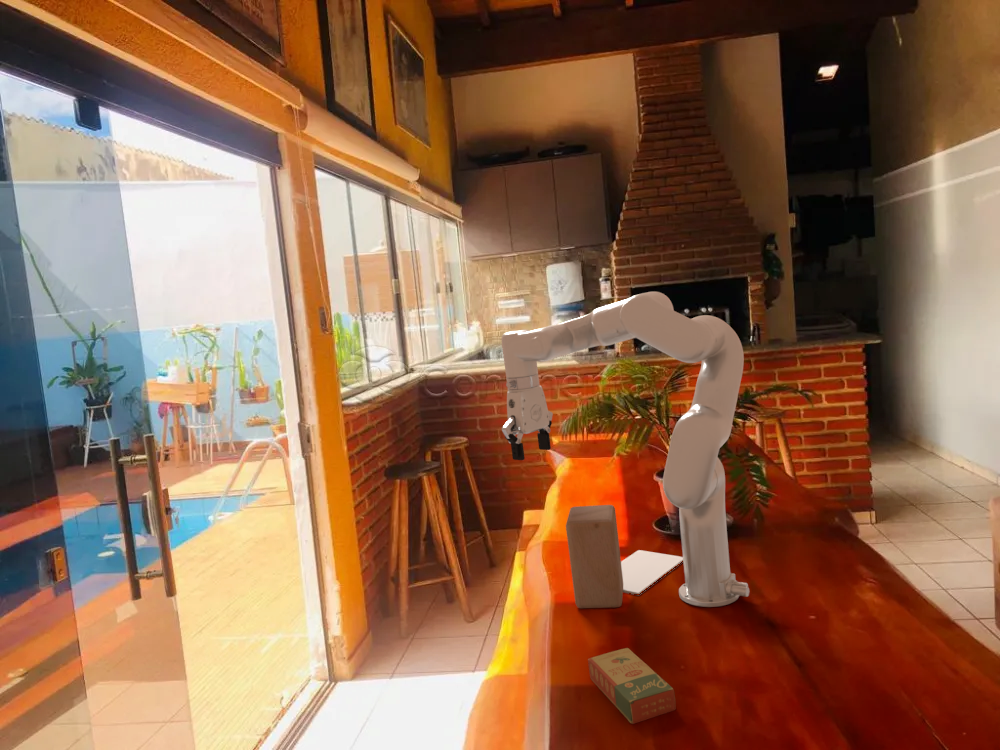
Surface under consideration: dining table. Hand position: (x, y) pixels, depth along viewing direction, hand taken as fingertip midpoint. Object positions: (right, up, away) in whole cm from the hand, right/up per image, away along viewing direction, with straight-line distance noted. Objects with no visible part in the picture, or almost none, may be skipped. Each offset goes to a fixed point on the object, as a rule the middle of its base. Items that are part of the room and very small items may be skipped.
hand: (532, 454), depth 179 cm
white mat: (+25, -28, 0) cm, 38 cm away
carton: (+15, -36, -50) cm, 63 cm away
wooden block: (+14, -31, -12) cm, 36 cm away
